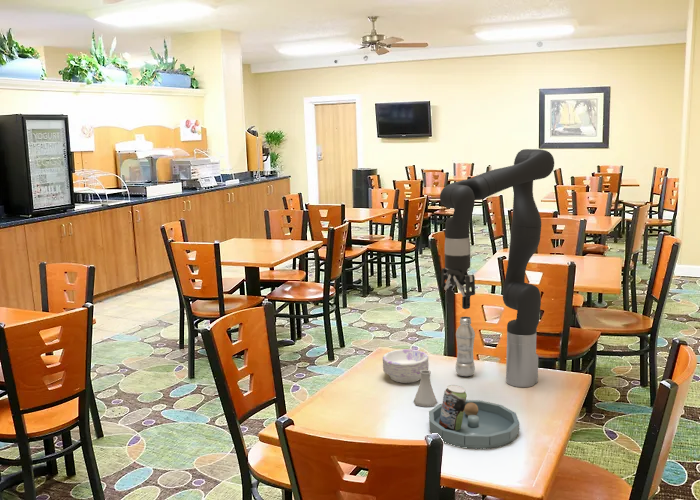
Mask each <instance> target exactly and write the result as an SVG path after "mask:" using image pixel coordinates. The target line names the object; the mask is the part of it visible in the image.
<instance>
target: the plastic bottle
mask: <svg viewBox="0 0 700 500" xmlns="http://www.w3.org/2000/svg"><path fill="white" fill-rule="evenodd" d="M459 324H460V325H458V327H457V329H456V332H455V339H456V347H457V348H456V349H457V353H456V355H457V356H456V361H455V362H456V363H455V372H456V375H457V376H460V377H471V376H473V375H474V373H475V370H476V365H475V360H474V358H475V357H474V344H475V338H476V333H475V329H474V327H473V326H472V325H471V324H472V318H471V317H470V316H461V317H460V318H459Z"/></svg>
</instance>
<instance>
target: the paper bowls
mask: <svg viewBox="0 0 700 500" xmlns="http://www.w3.org/2000/svg"><path fill="white" fill-rule="evenodd" d="M382 370H383V372H384V373H385V374H386V375H388V376H389V378H390V379H391V380H392V381H394V382H397V383H401V384H402V383H403V384H411V383H415V382H418V381H419V380H421V373H420V371H421V370H429V355H428V354H427V353H426V352H424V351H421V350H417V349H409V348H406V349H405V348H404V349H396V350H395V349H394V350H391V351H388V352H385V353H384V354H383V356H382Z"/></svg>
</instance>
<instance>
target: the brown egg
mask: <svg viewBox="0 0 700 500" xmlns="http://www.w3.org/2000/svg"><path fill="white" fill-rule="evenodd" d="M464 412H465V414H466V415H467V416H469V415H477V413H478V406H477V405H476V404H475V403H472V402H470V403H467V404H466V405H465V408H464Z"/></svg>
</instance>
